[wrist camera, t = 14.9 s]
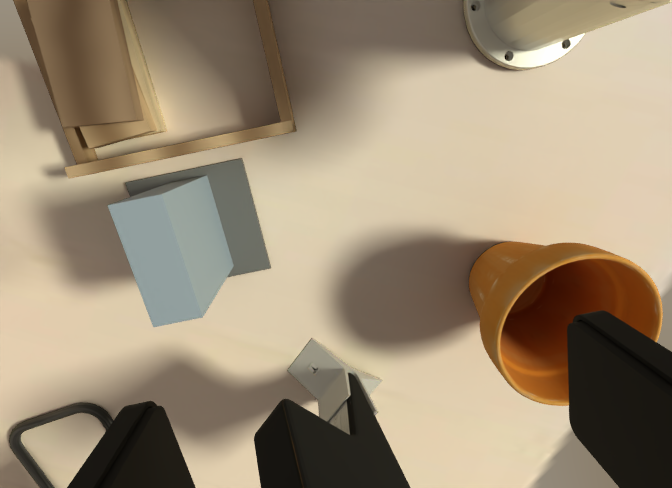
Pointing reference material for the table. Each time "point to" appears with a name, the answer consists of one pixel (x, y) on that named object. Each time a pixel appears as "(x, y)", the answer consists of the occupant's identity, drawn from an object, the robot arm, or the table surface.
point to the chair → (29, 424)
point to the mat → (225, 210)
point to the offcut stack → (96, 69)
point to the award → (327, 431)
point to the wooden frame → (91, 164)
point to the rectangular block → (174, 248)
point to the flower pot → (553, 307)
